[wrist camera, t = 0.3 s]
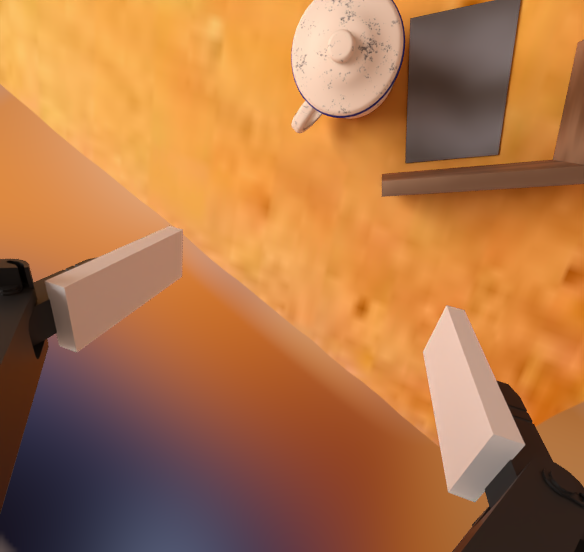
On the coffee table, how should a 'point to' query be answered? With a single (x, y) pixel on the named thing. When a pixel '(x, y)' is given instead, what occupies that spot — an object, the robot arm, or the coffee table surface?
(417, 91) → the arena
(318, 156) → the coffee table surface
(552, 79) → the coffee table surface
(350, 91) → the teacup with lid
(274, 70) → the coffee table surface
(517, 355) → the coffee table surface
